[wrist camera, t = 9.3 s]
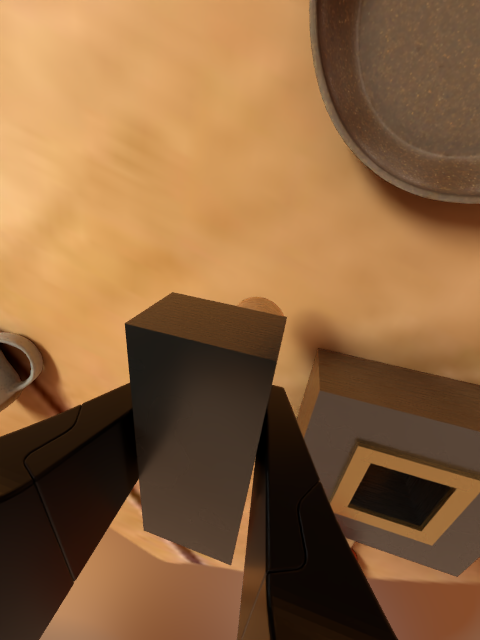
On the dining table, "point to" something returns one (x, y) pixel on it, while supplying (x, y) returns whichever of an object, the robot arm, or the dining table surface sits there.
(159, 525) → the block
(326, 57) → the saucer
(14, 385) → the ceramic mug
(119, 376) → the dining table surface
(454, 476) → the block
